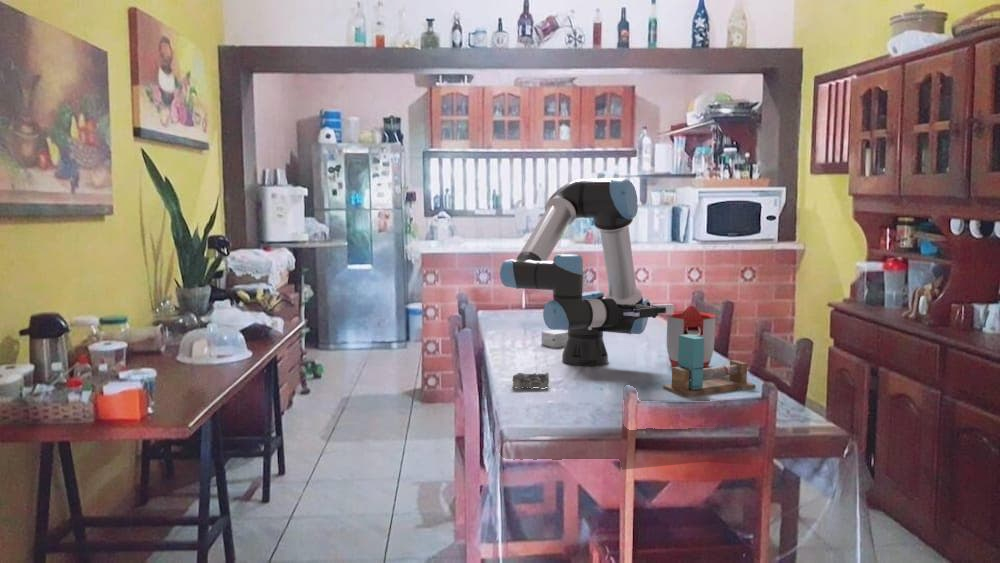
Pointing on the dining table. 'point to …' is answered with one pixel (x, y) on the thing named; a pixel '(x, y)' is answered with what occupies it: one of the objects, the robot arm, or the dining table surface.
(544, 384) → the egg carton
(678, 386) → the rail
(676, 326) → the citrus juicer
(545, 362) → the dining table surface
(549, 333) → the small box
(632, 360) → the dining table surface
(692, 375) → the collar
